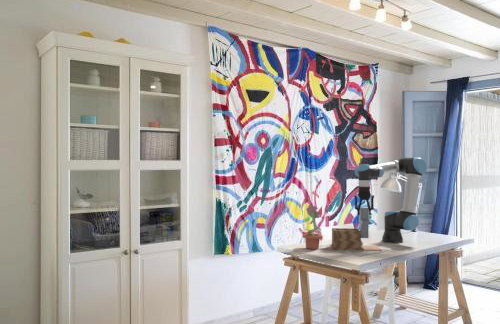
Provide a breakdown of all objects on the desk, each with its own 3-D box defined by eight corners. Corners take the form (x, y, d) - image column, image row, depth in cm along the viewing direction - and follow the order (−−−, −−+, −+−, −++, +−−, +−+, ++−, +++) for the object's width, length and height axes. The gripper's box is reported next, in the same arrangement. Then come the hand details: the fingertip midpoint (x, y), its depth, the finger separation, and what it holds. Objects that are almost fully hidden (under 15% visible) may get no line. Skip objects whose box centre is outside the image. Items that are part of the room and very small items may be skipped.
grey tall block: (365, 235, 308) (365, 206, 308) (369, 239, 295) (369, 208, 295) (358, 235, 308) (358, 206, 309) (362, 239, 295) (362, 208, 296)
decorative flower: (327, 248, 301) (327, 205, 301) (317, 251, 291) (317, 206, 291) (309, 245, 311) (309, 203, 311) (298, 248, 300) (298, 205, 301)
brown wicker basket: (358, 246, 308) (359, 228, 308) (362, 250, 295) (362, 231, 295) (330, 246, 309) (330, 228, 310) (332, 249, 297) (332, 230, 297)
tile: (377, 247, 308) (377, 245, 308) (382, 250, 294) (382, 249, 294) (360, 246, 309) (360, 245, 309) (364, 250, 295) (364, 249, 295)
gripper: (376, 186, 305) (376, 219, 305) (350, 186, 306) (350, 219, 306) (378, 186, 298) (378, 220, 297) (351, 186, 299) (351, 220, 299)
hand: (364, 219), depth 302 cm, fingers closed on grey tall block, 5 cm apart
